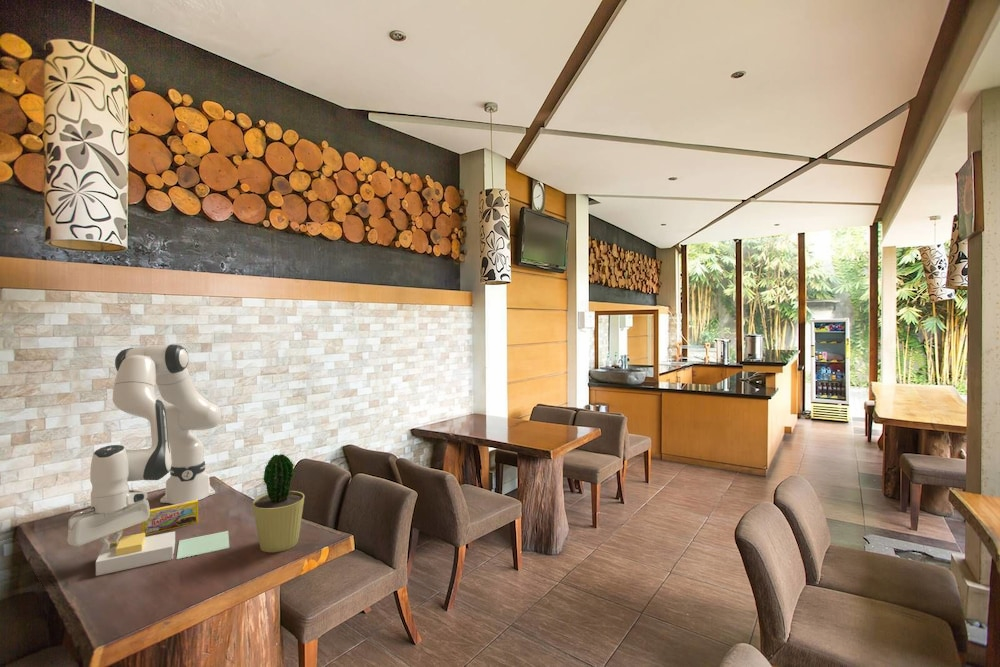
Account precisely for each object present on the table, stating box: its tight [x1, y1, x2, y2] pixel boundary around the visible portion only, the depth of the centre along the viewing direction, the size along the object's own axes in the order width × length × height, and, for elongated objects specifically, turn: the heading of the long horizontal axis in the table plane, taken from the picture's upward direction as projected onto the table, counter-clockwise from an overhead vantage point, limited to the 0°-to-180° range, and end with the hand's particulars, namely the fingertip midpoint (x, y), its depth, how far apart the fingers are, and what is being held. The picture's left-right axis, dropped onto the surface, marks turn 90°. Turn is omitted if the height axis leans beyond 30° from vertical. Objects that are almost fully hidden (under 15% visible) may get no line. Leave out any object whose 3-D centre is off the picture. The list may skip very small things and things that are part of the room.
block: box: [116, 532, 146, 556], centre depth 143 cm, size 9×6×2 cm, turn 31°
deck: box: [95, 531, 176, 577], centre depth 144 cm, size 12×18×4 cm, turn 122°
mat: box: [175, 530, 230, 561], centre depth 153 cm, size 14×14×1 cm
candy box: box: [141, 500, 199, 537], centre depth 165 cm, size 16×2×8 cm, turn 132°
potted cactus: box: [251, 453, 305, 553], centre depth 153 cm, size 15×15×30 cm
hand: (111, 547), depth 141 cm, fingers closed
